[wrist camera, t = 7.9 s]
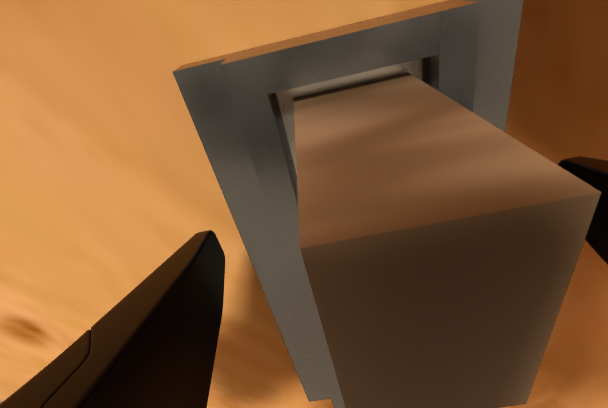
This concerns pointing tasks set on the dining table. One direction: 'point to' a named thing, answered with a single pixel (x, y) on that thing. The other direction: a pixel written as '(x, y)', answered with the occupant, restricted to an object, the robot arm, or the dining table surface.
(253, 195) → the rail
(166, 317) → the robot arm
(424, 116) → the tan wooden block
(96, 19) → the dining table surface
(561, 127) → the dining table surface
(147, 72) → the dining table surface
